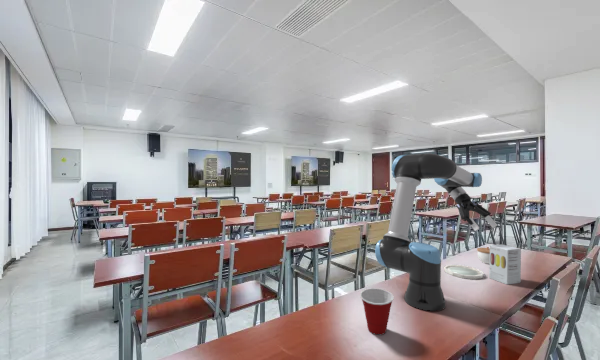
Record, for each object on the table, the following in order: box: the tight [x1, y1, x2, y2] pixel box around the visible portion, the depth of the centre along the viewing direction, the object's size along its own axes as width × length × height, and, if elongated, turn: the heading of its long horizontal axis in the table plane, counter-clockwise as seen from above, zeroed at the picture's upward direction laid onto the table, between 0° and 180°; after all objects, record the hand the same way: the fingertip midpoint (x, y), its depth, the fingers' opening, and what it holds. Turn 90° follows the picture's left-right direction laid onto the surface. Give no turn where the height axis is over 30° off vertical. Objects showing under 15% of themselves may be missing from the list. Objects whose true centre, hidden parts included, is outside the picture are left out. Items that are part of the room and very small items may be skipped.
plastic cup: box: [359, 287, 395, 335], centre depth 91 cm, size 11×11×12 cm
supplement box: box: [488, 243, 522, 285], centre depth 137 cm, size 10×9×17 cm
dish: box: [443, 264, 485, 280], centre depth 147 cm, size 18×18×2 cm
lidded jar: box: [476, 246, 490, 265], centre depth 166 cm, size 11×11×9 cm
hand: (486, 228), depth 144 cm, fingers open, 13 cm apart
